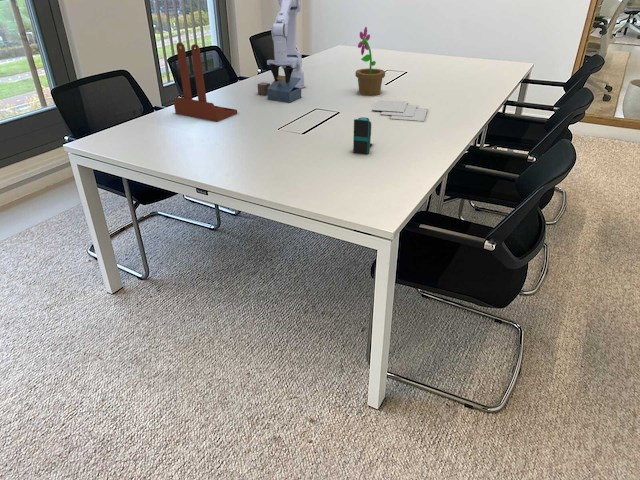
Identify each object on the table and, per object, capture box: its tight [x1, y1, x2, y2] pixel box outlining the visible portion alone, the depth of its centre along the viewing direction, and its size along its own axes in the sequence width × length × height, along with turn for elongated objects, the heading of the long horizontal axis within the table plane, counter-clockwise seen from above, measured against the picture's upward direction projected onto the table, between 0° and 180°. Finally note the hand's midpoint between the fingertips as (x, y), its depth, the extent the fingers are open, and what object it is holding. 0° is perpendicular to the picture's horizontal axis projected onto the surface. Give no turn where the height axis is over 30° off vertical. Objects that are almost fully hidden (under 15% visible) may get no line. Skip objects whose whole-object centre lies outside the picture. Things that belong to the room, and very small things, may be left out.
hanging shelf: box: [173, 42, 238, 123], centre depth 210 cm, size 24×13×30 cm, turn 59°
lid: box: [267, 75, 301, 93], centre depth 232 cm, size 11×12×4 cm
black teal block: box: [352, 116, 373, 155], centre depth 175 cm, size 6×12×10 cm
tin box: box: [267, 87, 302, 104], centre depth 236 cm, size 10×12×4 cm
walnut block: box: [257, 81, 271, 96], centre depth 243 cm, size 4×4×5 cm
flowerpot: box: [355, 26, 386, 97], centre depth 236 cm, size 14×14×30 cm
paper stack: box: [371, 99, 428, 122], centre depth 217 cm, size 23×25×1 cm
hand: (282, 81), depth 232 cm, fingers closed on lid, 5 cm apart
